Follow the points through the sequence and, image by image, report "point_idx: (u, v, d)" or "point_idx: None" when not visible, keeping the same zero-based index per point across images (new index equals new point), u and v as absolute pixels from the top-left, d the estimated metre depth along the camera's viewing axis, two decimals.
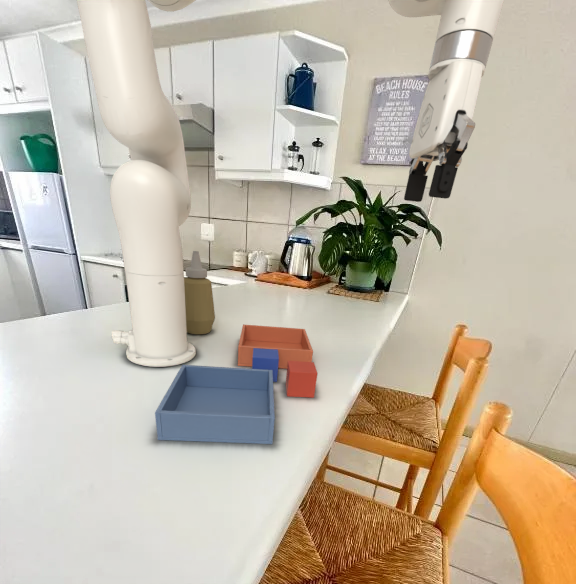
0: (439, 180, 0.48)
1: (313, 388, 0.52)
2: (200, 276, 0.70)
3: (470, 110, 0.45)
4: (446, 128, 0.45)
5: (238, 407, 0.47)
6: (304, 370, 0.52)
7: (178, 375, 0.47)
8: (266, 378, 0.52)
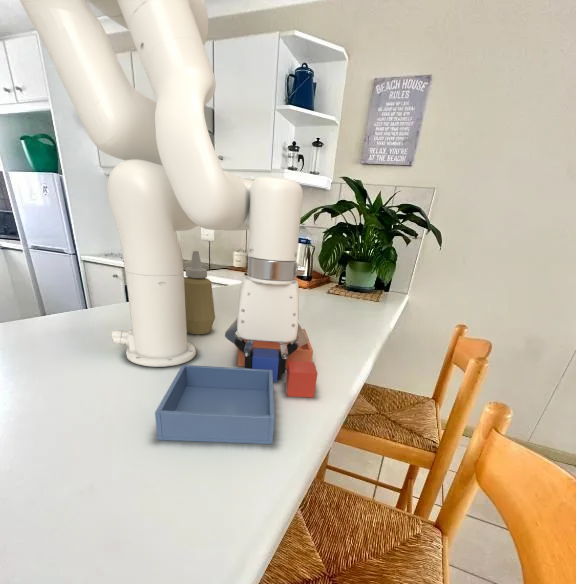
0: None
1: (313, 388, 0.52)
2: (200, 276, 0.70)
3: (238, 311, 0.52)
4: None
5: (238, 407, 0.47)
6: (304, 370, 0.52)
7: (178, 375, 0.47)
8: (266, 378, 0.52)
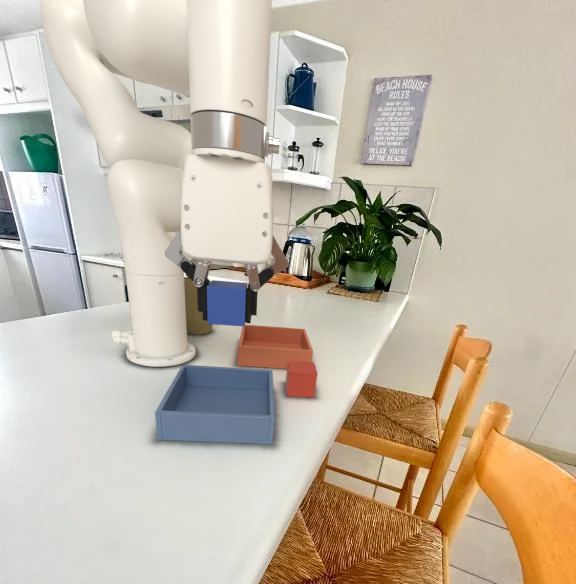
0: None
1: (313, 388, 0.52)
2: None
3: (181, 211, 0.34)
4: None
5: (238, 407, 0.47)
6: (304, 370, 0.52)
7: (178, 375, 0.47)
8: (266, 378, 0.52)
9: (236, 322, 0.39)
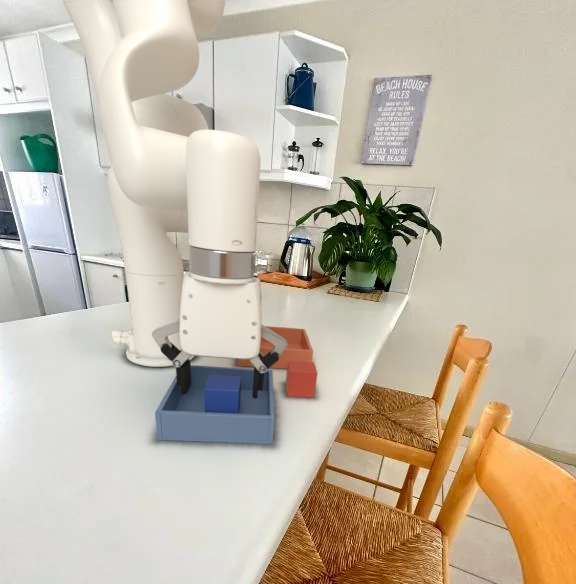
0: None
1: (313, 388, 0.52)
2: None
3: None
4: None
5: None
6: (304, 370, 0.52)
7: None
8: (266, 378, 0.52)
9: None
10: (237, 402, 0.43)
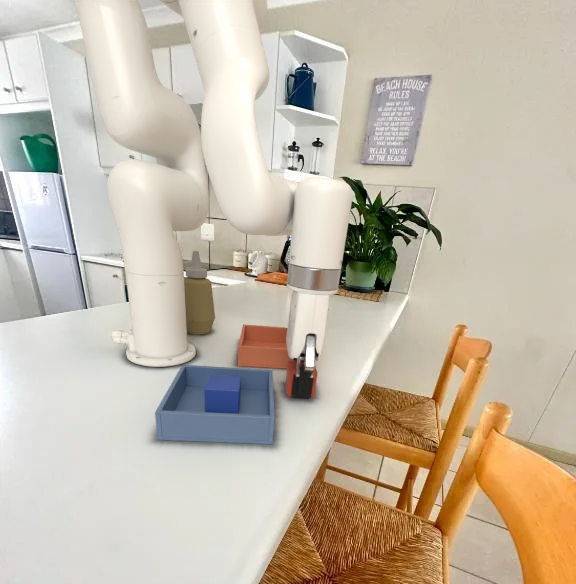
0: (297, 387, 0.51)
1: (313, 388, 0.52)
2: (200, 276, 0.70)
3: (320, 333, 0.45)
4: (299, 347, 0.46)
5: None
6: None
7: (178, 375, 0.47)
8: (266, 378, 0.52)
9: None
10: (237, 402, 0.43)
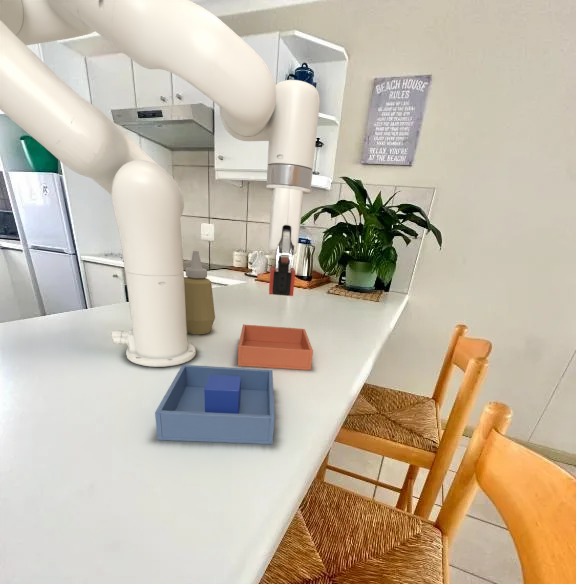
0: (277, 283, 0.58)
1: (292, 286, 0.60)
2: (200, 276, 0.70)
3: (294, 225, 0.53)
4: (276, 239, 0.53)
5: None
6: None
7: (178, 375, 0.47)
8: (266, 378, 0.52)
9: None
10: (237, 402, 0.43)
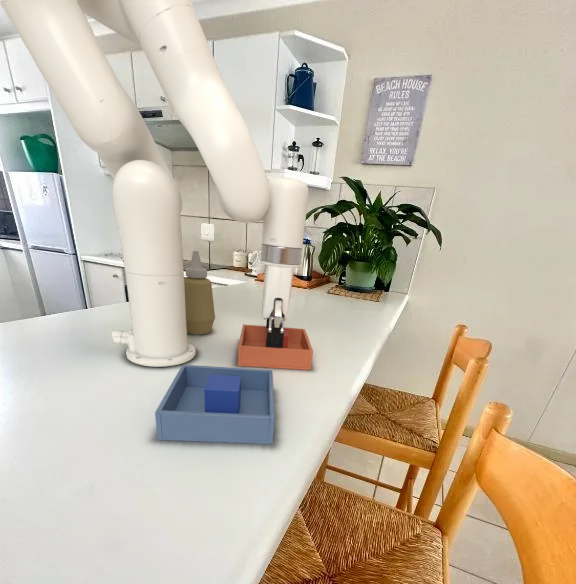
0: (270, 342, 0.62)
1: None
2: (200, 276, 0.70)
3: (285, 297, 0.59)
4: (269, 309, 0.59)
5: None
6: None
7: (178, 375, 0.47)
8: (266, 378, 0.52)
9: None
10: (237, 402, 0.43)
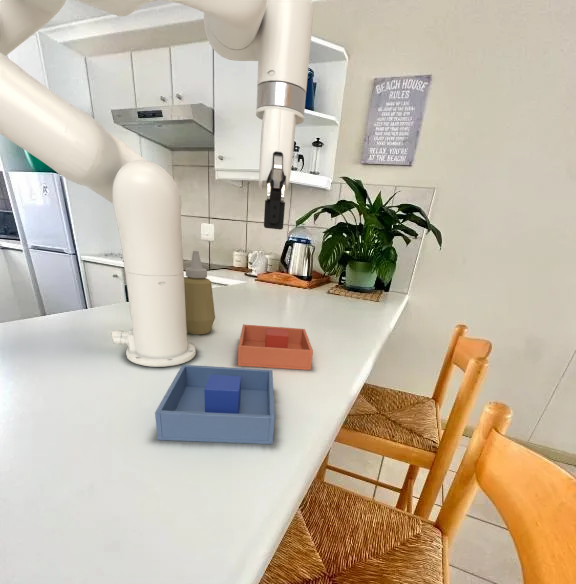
0: (269, 214, 0.52)
1: None
2: (200, 276, 0.70)
3: (286, 152, 0.49)
4: (266, 168, 0.49)
5: None
6: (278, 334, 0.65)
7: (178, 375, 0.47)
8: (266, 378, 0.52)
9: None
10: (237, 402, 0.43)
